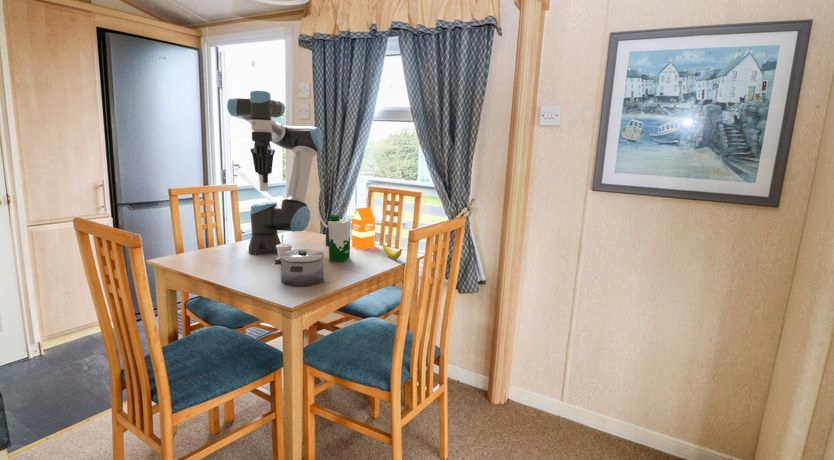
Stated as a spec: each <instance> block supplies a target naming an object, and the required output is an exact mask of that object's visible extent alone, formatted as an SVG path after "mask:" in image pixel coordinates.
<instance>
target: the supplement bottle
mask: <svg viewBox="0 0 834 460" xmlns="http://www.w3.org/2000/svg"><path fill="white" fill-rule="evenodd" d="M325 245H326V246H327V247H329V228H328V226H326V227H325Z"/></svg>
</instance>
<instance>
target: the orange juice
mask: <svg viewBox="0 0 834 460" xmlns="http://www.w3.org/2000/svg"><path fill="white" fill-rule="evenodd" d="M375 236H376V218H375V216H374V214H373V211H372V209H371V206H368V207H360V208H356V209H355V212H354V214H353V215H352V218H351V248H356V249H359V250H365V249H370V248H375V244H376V237H375Z"/></svg>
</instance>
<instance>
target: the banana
mask: <svg viewBox="0 0 834 460" xmlns="http://www.w3.org/2000/svg"><path fill="white" fill-rule="evenodd" d="M381 246H382V249H383V251H384V253H385V254H386V255H387V257H389V258H390V259H393V260H397V259H398V258H400V257H401V255H402V250H403V249H400V250H399V249H398V250H397V251H396V252H394V251H393V250H392V249H391V248H390V247H388V246H387V245H386V244H385V243H383V242H382V245H381Z"/></svg>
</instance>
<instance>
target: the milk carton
mask: <svg viewBox="0 0 834 460" xmlns="http://www.w3.org/2000/svg"><path fill="white" fill-rule="evenodd" d="M327 227H328V228H329V246H328V256H329V257H328V261H329V262H338V263H345V262H346V261H348V260H349V259H350V257H351V256H350V255H351V220H350V219H344V218H343V219H342V218H340V215H337V214H335V215H333V214H332V215H330V216H329V220H328V221H327Z"/></svg>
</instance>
